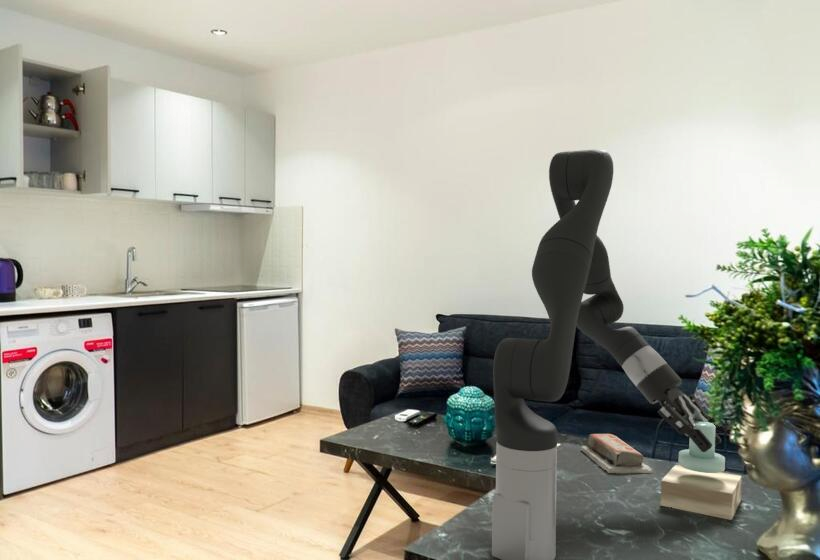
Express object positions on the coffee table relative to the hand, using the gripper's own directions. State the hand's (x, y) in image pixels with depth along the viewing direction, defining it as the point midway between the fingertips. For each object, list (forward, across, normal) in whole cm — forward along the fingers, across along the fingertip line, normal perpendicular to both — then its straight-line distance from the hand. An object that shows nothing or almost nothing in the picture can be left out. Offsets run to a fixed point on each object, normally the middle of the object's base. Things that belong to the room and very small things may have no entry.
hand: (712, 446), depth 122 cm
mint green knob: (+1, 0, +4) cm, 5 cm away
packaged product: (-10, +13, +26) cm, 31 cm away
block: (+7, 0, +9) cm, 12 cm away
